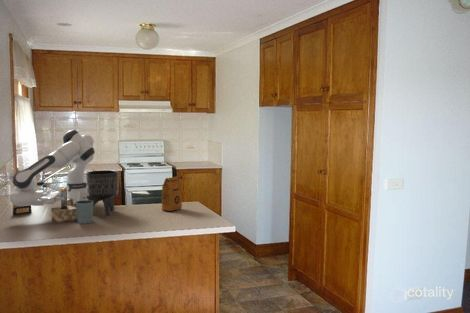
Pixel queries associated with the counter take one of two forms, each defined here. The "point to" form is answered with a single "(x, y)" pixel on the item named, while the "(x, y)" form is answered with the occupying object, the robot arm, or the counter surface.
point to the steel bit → (64, 202)
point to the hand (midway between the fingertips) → (65, 197)
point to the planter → (103, 188)
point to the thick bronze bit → (70, 202)
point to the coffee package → (171, 195)
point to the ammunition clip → (21, 210)
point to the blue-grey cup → (84, 211)
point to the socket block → (64, 214)
